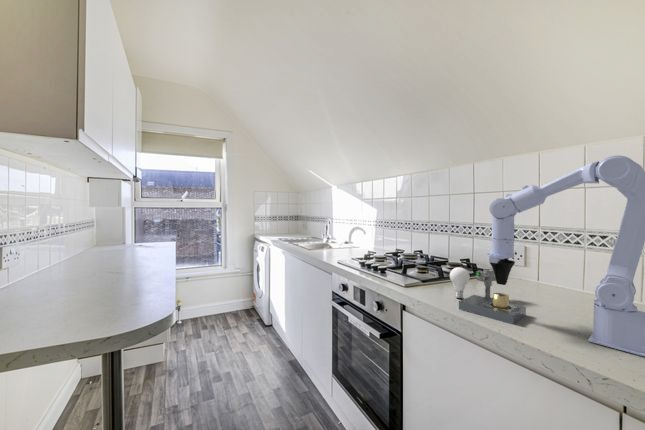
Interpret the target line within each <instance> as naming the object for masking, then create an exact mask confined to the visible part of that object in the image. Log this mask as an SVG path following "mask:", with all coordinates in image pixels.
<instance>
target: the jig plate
mask: <svg viewBox="0 0 645 430" xmlns="http://www.w3.org/2000/svg"><path fill="white" fill-rule="evenodd" d="M458 309H459V310H461V311H464V312H468V313H472V314H475V315H478V316H482V317H485V318H486V317H487V318H489V319H492V320H497V321H500V322H504V323H508V324H511V325H515V324H516V323H517V322H518V321H520V320H521V319H523V318H524V317H525V316H526V315H527V306H524V305H520V304H516V303H511V302H509V309H499V308H495V307H493V298H491V297H490V298H487V297H485V296H480V295H477V294H472V295H470V296H468V297H465V298H463V299H461V300H459V301H458Z"/></svg>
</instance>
